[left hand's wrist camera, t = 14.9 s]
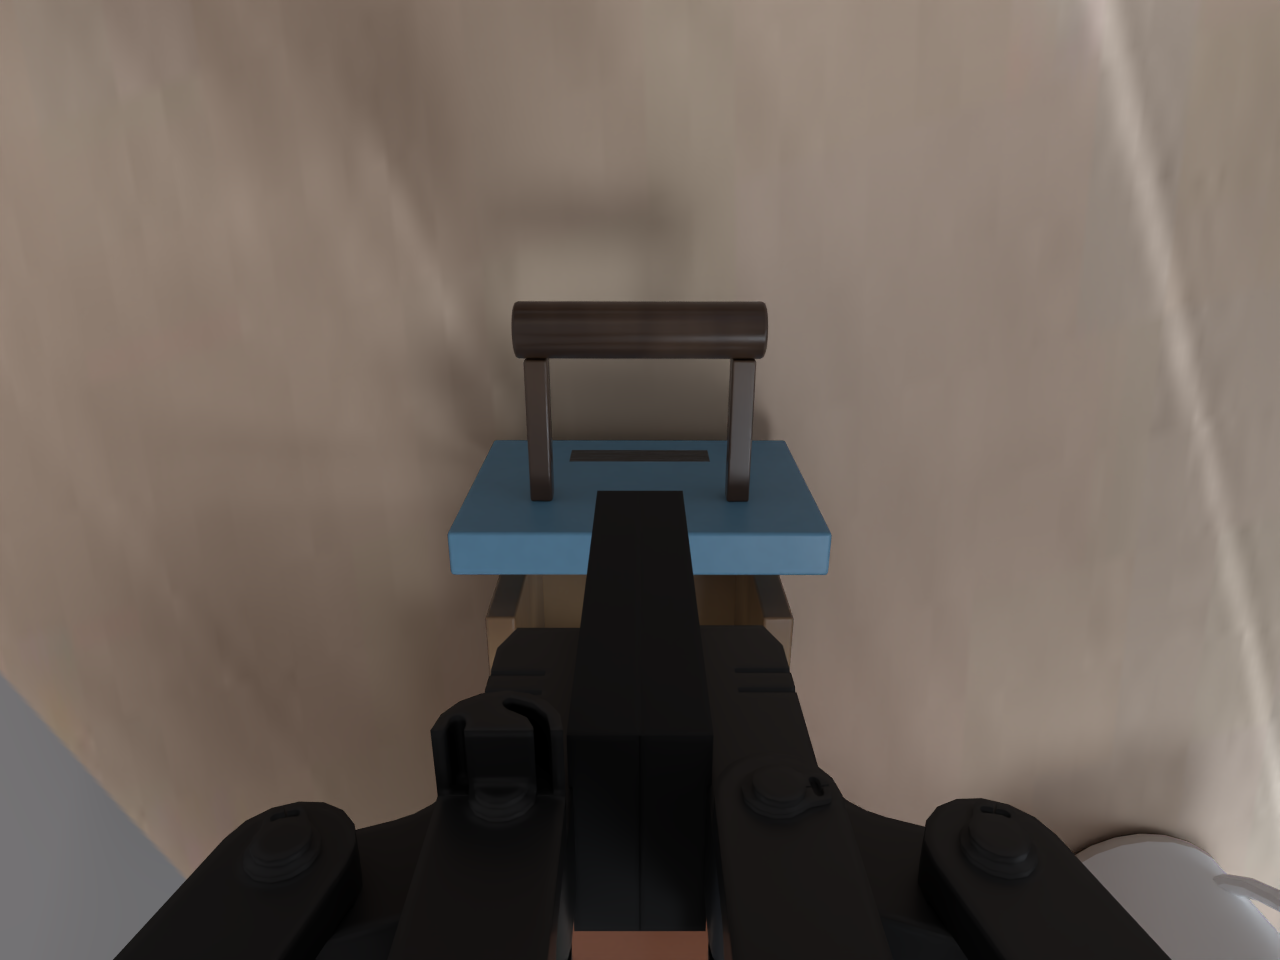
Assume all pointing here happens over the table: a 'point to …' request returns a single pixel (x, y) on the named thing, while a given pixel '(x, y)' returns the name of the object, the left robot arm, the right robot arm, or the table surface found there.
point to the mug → (1186, 898)
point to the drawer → (638, 477)
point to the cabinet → (640, 945)
